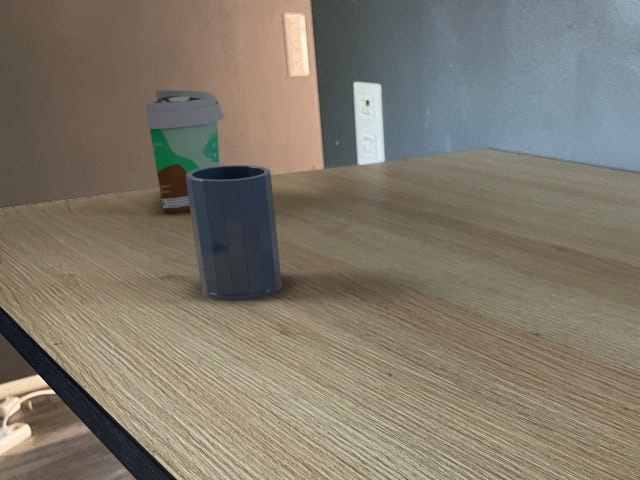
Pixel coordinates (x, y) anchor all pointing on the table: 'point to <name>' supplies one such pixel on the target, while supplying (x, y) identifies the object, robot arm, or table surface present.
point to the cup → (234, 231)
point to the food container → (182, 141)
